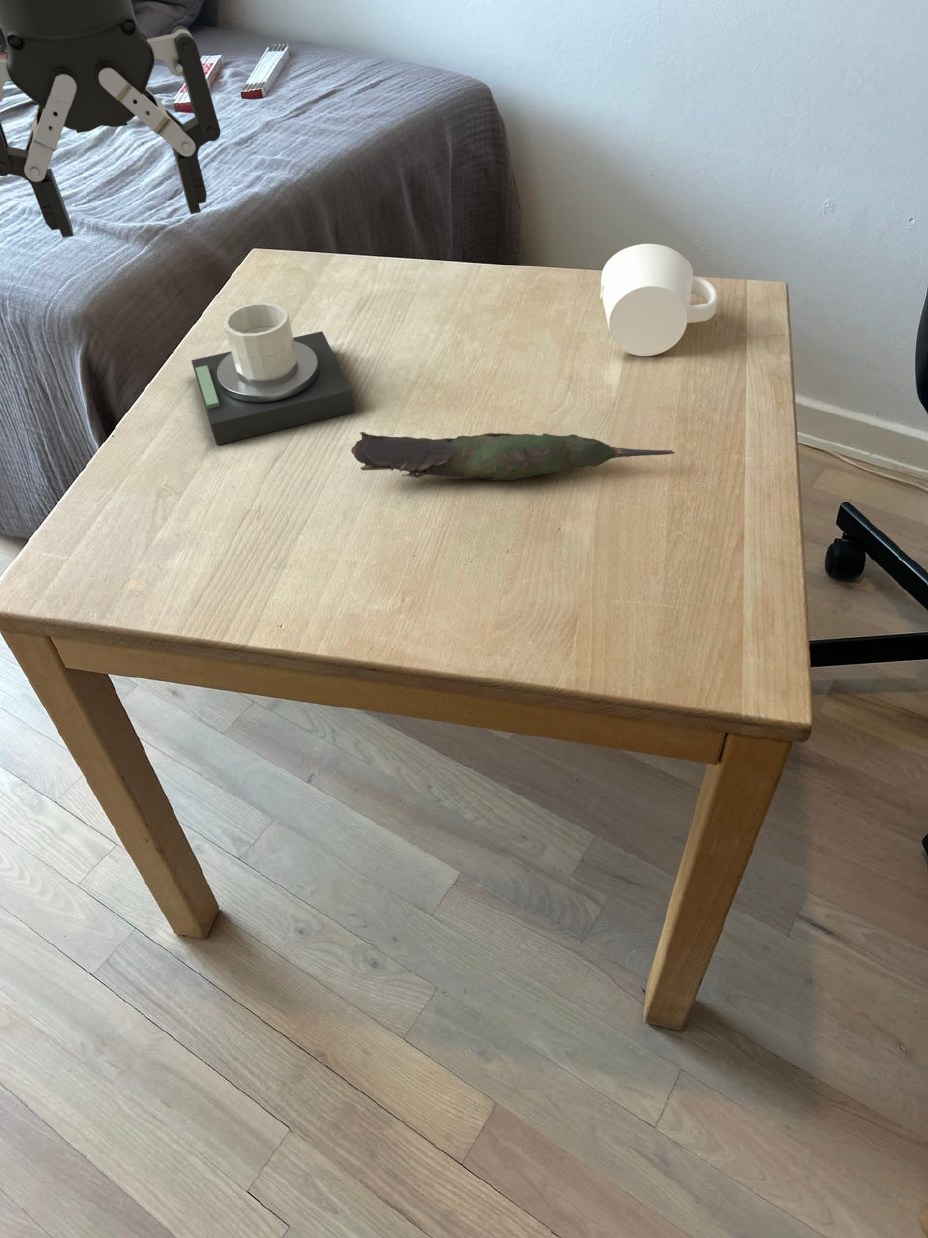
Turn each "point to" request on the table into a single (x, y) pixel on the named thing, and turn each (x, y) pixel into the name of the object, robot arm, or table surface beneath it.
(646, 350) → the mug
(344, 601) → the table surface
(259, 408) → the scale
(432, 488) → the table surface
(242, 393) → the pan
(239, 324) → the white cup
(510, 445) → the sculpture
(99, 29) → the robot arm
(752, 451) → the table surface
